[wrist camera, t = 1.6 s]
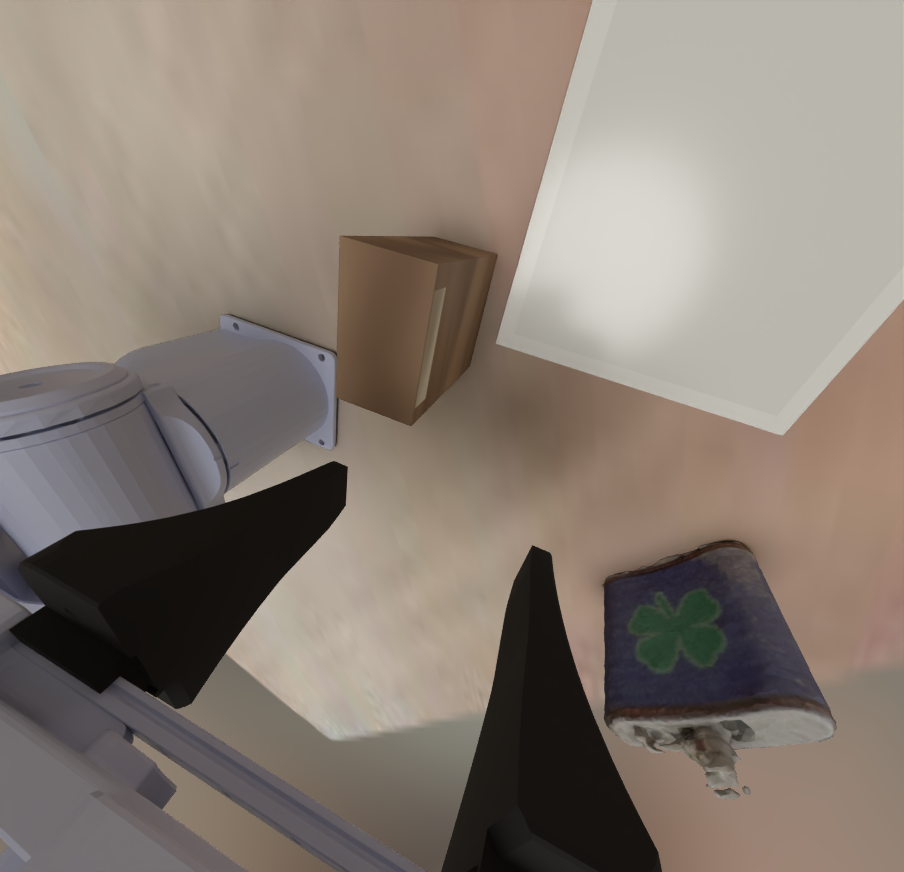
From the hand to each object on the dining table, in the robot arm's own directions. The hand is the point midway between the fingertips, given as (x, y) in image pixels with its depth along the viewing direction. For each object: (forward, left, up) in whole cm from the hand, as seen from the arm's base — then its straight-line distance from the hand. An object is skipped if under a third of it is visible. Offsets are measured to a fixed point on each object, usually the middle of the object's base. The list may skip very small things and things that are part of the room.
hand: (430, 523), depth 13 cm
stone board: (+6, +11, -10) cm, 16 cm away
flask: (+14, -7, -11) cm, 19 cm away
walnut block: (-4, +5, -10) cm, 12 cm away
